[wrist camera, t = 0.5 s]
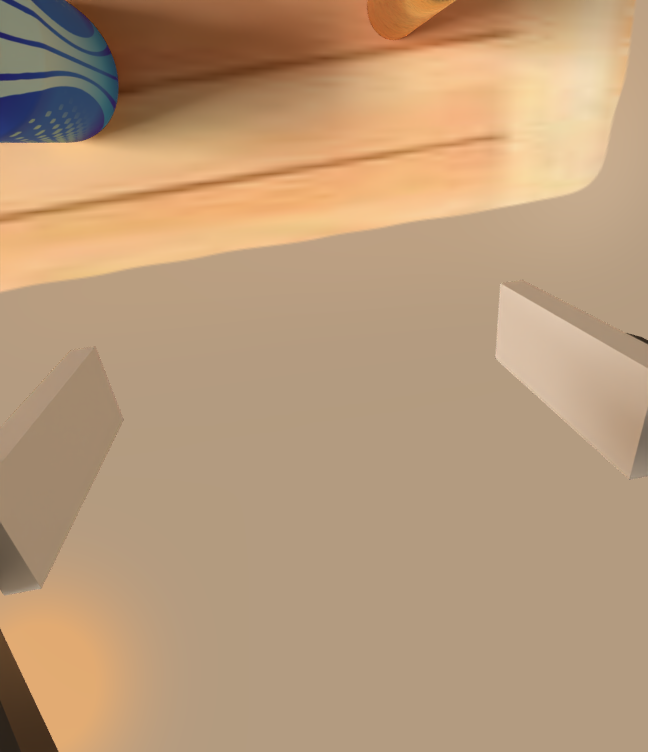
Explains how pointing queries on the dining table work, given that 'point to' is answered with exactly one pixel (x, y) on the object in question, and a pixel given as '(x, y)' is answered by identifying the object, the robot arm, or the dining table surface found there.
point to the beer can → (53, 74)
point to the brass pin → (402, 15)
